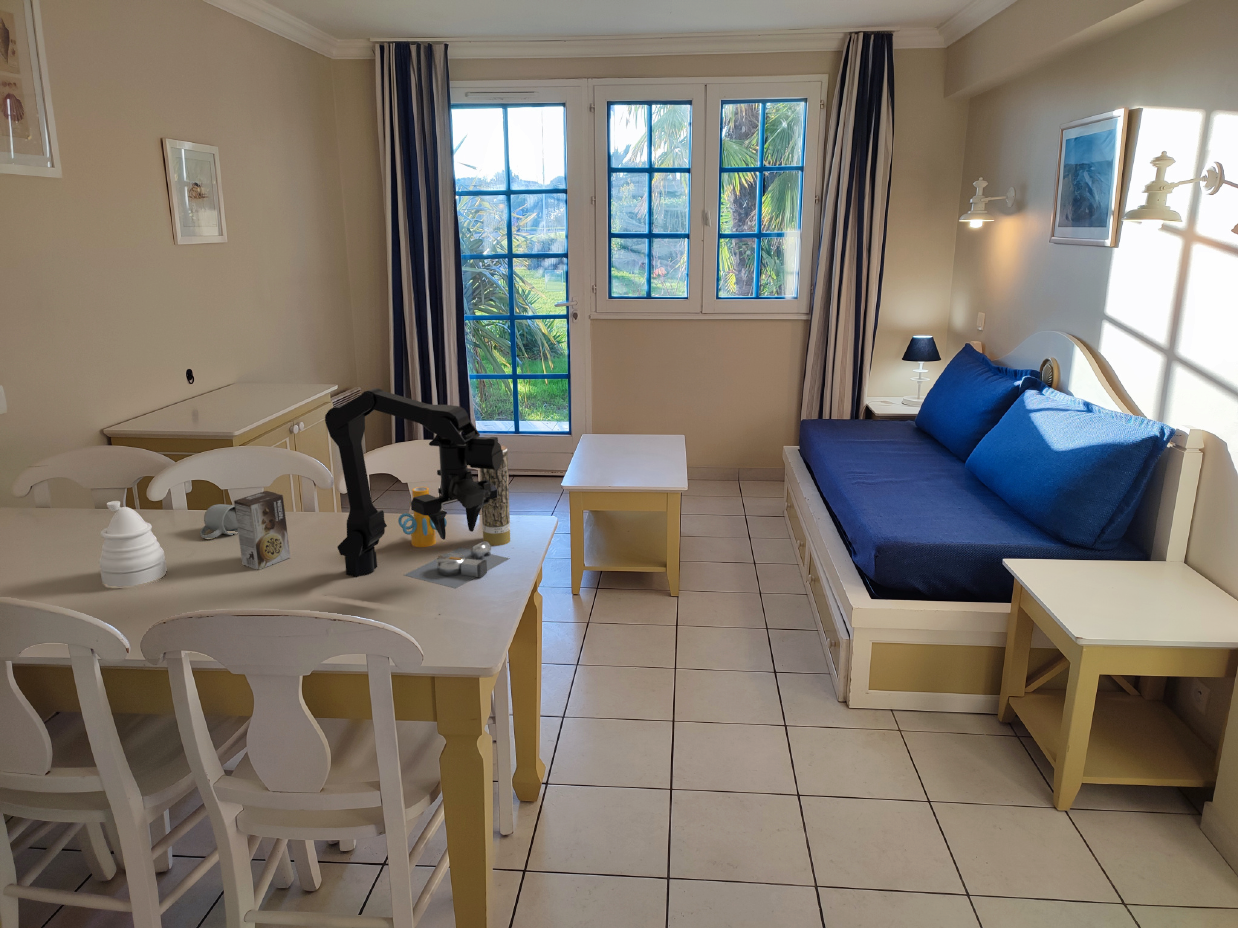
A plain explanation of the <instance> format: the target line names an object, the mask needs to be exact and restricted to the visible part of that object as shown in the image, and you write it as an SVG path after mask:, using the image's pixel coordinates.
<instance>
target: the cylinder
mask: <svg viewBox="0 0 1238 928" xmlns="http://www.w3.org/2000/svg"><path fill="white" fill-rule="evenodd" d="M411 493H412V499H413V498H414V497H417V496H421V495H426V494H429V495H430V488H429V487H427V486H417V487H413V488H412V489H411ZM405 517H407V518H406V519H405V520H404V521H403V522H402V520H403V518H405ZM397 522H398V525H399V527H400V528H402V531H403V533H404V534H405V535H410V539H411V540H410V542H411V546H413V547H416V548H427V547H428V548H429V547H431V546H433V545H435V544H437V535H436V532H437V530H436V528H435V526H434V524H433V522H432V520H431V519H430V517H429V516H428V515H422V514H420V513H417V512H415V511H413V515H412V514H410V513H407V512H404V513H402V514H400V516H399V517H398V521H397ZM409 522H411V525H409V526H407V524H408V523H409ZM447 524H448V522H447V519H446V518H445V528H446V527H447ZM409 530H410V531H409Z"/></svg>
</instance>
